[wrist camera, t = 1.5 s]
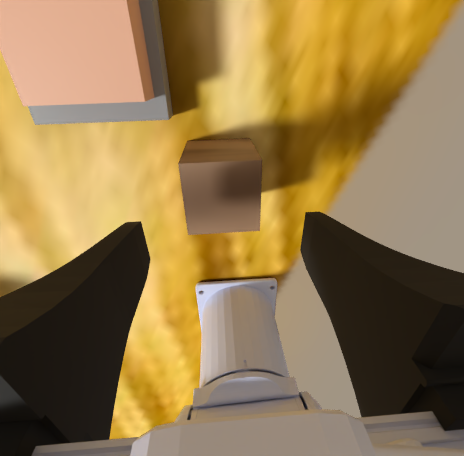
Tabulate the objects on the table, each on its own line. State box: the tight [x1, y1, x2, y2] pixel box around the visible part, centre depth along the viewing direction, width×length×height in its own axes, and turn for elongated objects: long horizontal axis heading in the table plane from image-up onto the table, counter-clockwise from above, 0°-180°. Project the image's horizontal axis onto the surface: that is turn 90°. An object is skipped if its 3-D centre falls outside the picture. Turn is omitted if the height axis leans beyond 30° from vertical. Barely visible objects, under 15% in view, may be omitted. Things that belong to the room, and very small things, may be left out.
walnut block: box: [178, 138, 262, 235], centre depth 17 cm, size 4×4×6 cm
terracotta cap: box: [0, 0, 155, 106], centre depth 12 cm, size 6×6×2 cm
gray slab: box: [28, 0, 173, 125], centre depth 15 cm, size 8×8×2 cm
